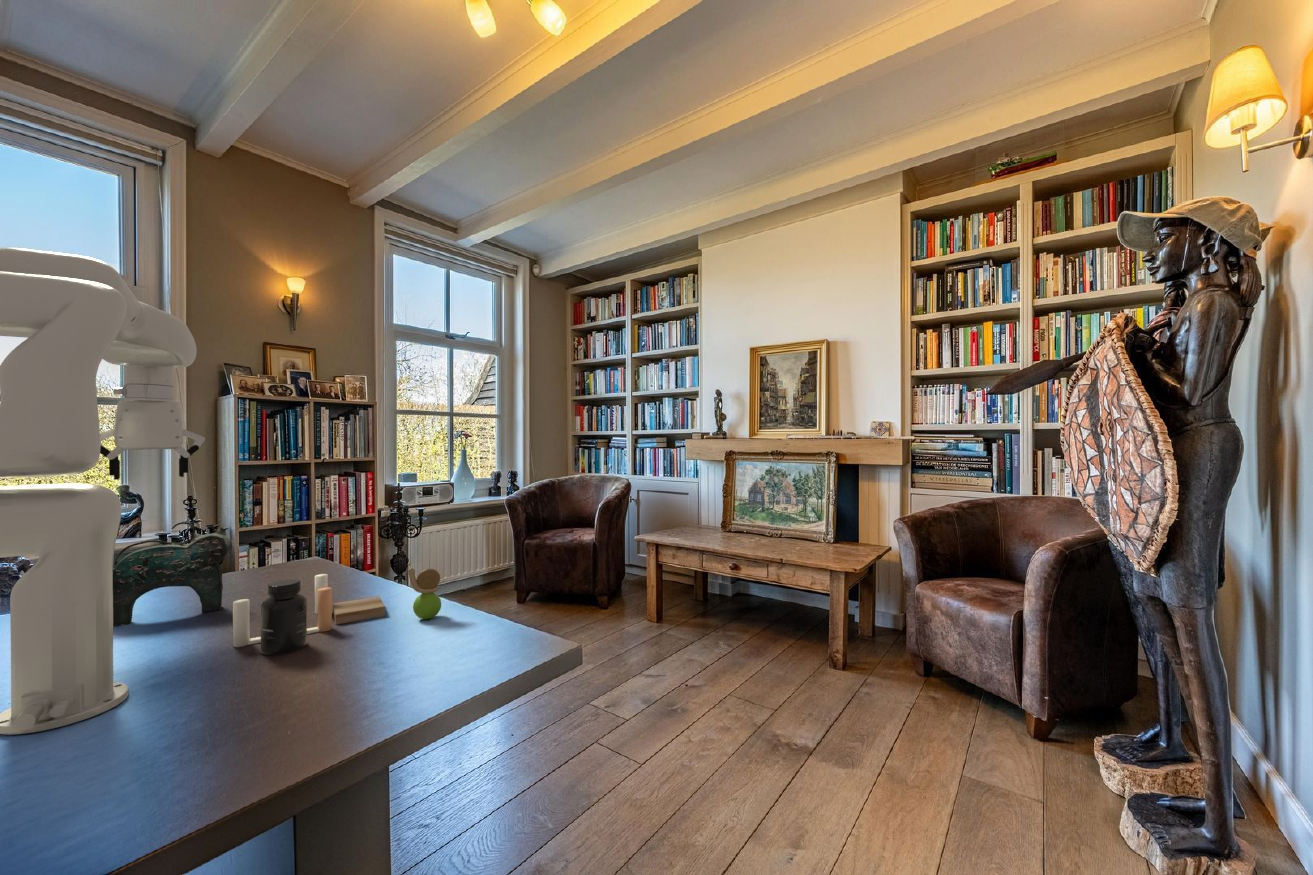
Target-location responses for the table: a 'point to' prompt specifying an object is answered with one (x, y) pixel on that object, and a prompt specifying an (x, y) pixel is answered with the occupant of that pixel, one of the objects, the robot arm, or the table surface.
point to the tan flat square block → (358, 610)
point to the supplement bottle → (283, 618)
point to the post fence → (324, 624)
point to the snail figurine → (425, 592)
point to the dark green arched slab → (170, 571)
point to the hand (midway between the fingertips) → (150, 477)
